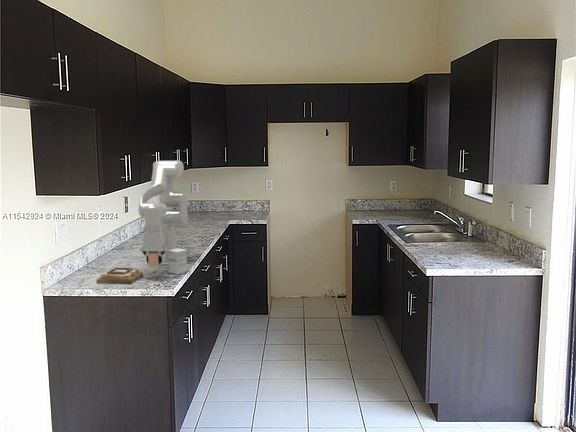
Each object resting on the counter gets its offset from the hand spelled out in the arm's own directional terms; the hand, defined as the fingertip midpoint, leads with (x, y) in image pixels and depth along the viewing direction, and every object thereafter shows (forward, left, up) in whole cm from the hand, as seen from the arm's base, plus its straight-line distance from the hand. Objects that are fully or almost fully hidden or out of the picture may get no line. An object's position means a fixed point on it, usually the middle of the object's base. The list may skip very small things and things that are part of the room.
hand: (154, 263), depth 275 cm
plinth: (+5, -17, -8) cm, 19 cm away
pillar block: (0, 0, -1) cm, 1 cm away
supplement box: (-13, +8, -8) cm, 18 cm away
